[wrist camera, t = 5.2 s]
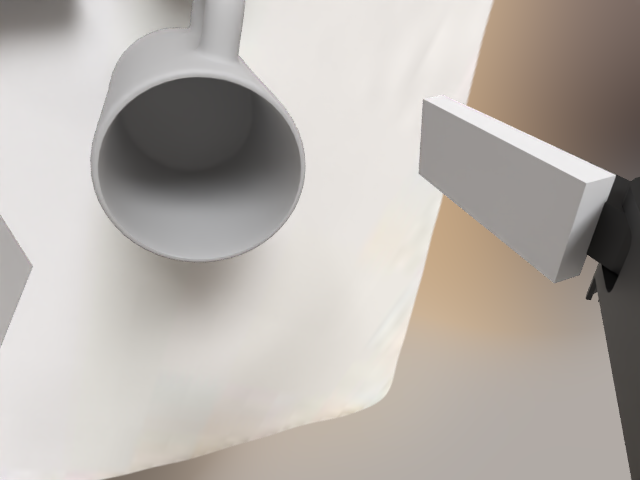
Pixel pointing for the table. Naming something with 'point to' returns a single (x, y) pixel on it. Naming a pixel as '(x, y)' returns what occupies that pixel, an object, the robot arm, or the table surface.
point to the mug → (195, 143)
